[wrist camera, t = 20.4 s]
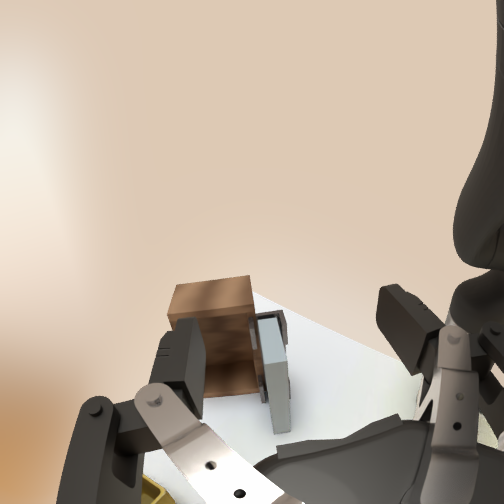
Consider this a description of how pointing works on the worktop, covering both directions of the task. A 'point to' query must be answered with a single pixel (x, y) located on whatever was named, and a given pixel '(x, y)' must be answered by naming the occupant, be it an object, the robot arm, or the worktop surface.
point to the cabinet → (223, 332)
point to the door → (275, 374)
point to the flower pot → (154, 493)
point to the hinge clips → (283, 332)
